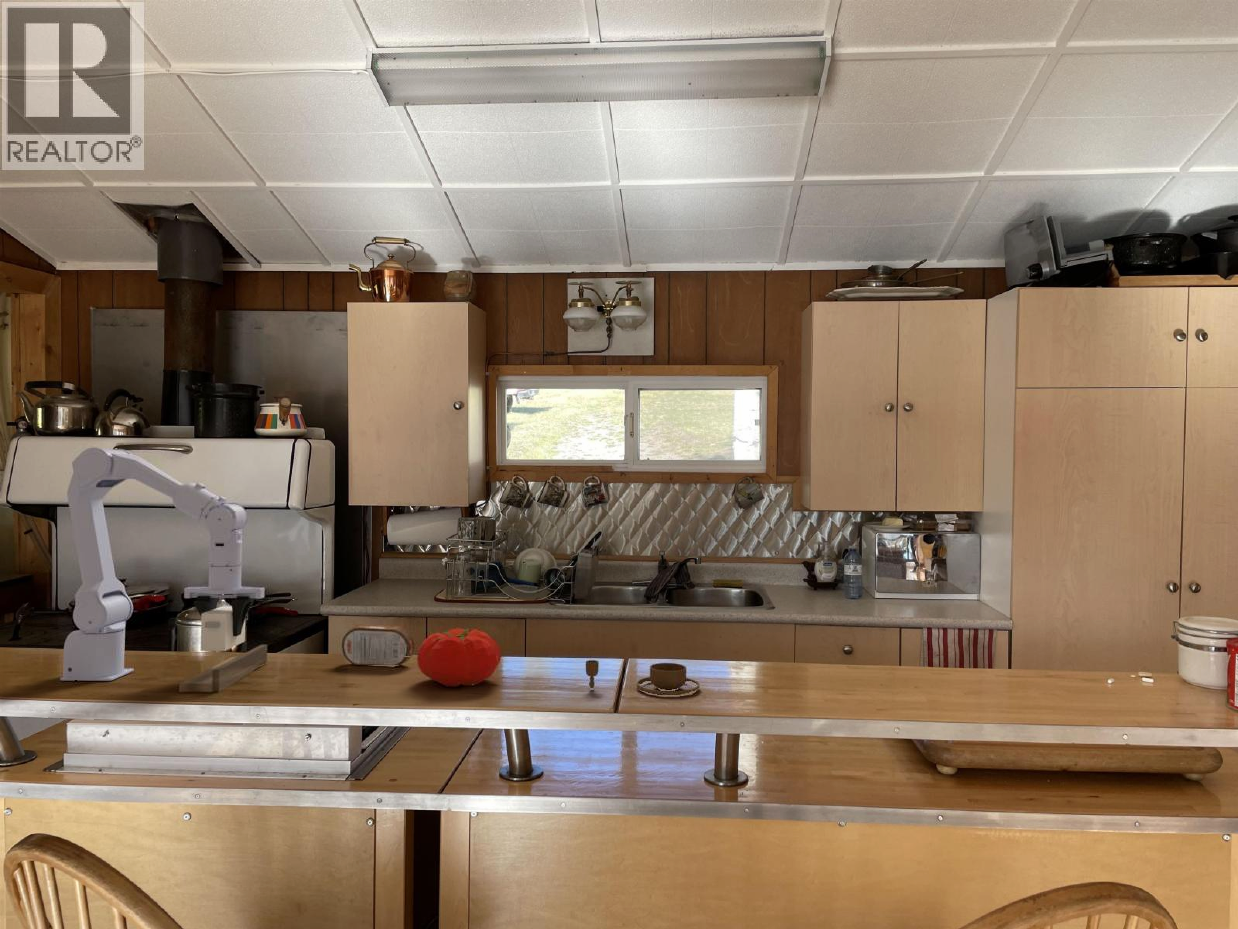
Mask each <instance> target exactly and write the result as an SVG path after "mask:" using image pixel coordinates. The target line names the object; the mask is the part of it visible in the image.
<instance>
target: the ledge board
mask: <svg viewBox="0 0 1238 929" xmlns="http://www.w3.org/2000/svg"><path fill="white" fill-rule="evenodd" d="M266 662H268V644H260V645H258V646H256V647H254V648H252V649H250V650H249V651H246V652H245V653H243V654H241V655H239V656H231V657H229V658H227V659H225V660H223V661H222V662H219V663H217V664H215V665H213V666H212V667H209V668H207V669H205V670H203V671H201V672H200V673H198V674H196V675H193V676H192V677H190V678H187V679H185V680H184V681H182V682H180V683H179V690H178V691H179V693H180V692H181V693H192V692H193V693H219V692H221V691H223V690H225V689H226V688H228V687H230V686H231V685H233V684H235V683H237V682H239V681H240V680H242V679H244V678H245V677H247V676H248V675H247V674H249V673H250V672H251V671H254V670H255V669H257V668H258V667H260V666H261V665H263V664H265V663H266ZM257 670H258V669H257ZM254 672H255V671H254ZM250 674H251V673H250ZM250 674H249V675H250ZM246 675H247V676H246Z"/></svg>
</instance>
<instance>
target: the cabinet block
mask: <svg viewBox="0 0 1238 929" xmlns="http://www.w3.org/2000/svg"><path fill="white" fill-rule="evenodd" d="M200 618H201V620H200V624H201V625H200V652H225V651H227V650H230V649H232V648H234V647H236V646H239V645H240V644H242V643H244V642H246V620H245V621H244V624H243V627H242V631H241V635H238V636H233V611H232V605H228V606H227V605H222V606H219V607H216V609H213V610H210V611H208V612H205V613H202V614H201V616H200Z"/></svg>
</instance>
